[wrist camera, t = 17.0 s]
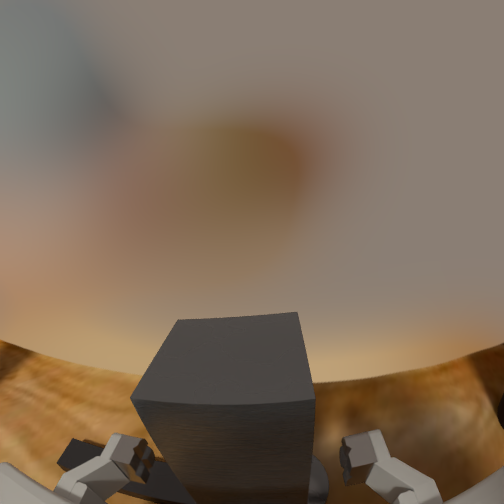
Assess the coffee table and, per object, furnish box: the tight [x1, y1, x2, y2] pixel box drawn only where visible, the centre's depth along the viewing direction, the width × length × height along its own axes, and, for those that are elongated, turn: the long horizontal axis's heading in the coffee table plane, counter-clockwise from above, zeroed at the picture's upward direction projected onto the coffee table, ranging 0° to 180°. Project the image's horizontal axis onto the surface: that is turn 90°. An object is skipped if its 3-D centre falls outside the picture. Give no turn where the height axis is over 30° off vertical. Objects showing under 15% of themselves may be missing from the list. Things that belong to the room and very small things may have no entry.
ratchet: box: [57, 438, 329, 504], centre depth 13 cm, size 22×9×4 cm, turn 87°
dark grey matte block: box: [130, 312, 316, 504], centre depth 11 cm, size 6×6×12 cm
